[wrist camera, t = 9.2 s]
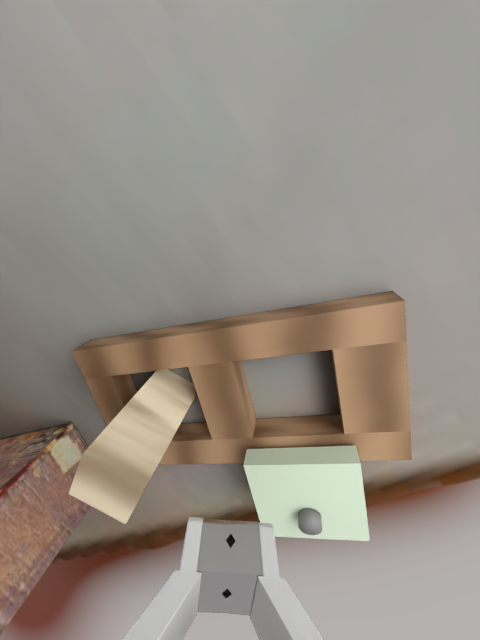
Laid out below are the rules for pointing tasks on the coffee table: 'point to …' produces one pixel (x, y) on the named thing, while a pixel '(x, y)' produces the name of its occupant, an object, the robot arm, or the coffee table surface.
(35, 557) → the book
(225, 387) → the puzzle board
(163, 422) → the maple block
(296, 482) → the lid
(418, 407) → the coffee table surface
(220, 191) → the coffee table surface
